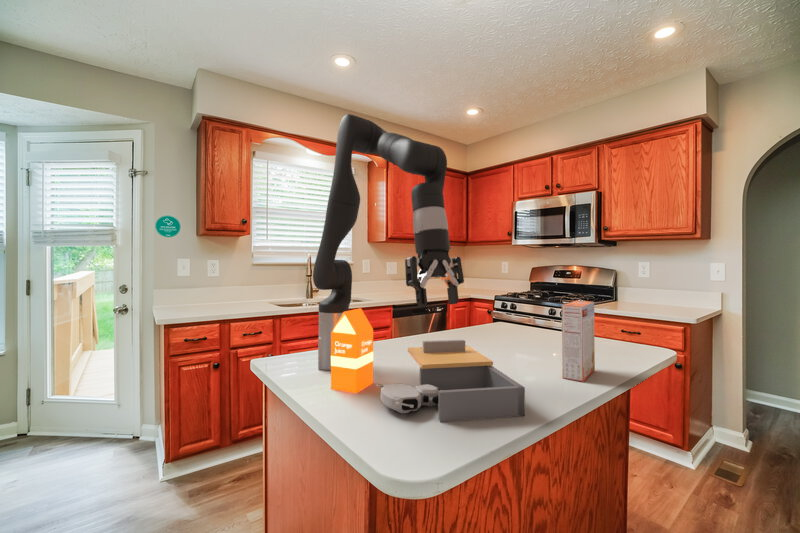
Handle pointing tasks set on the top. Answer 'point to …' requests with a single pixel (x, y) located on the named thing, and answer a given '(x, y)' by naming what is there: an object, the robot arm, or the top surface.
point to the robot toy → (408, 396)
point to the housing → (474, 393)
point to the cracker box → (578, 340)
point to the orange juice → (352, 352)
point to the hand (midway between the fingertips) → (438, 305)
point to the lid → (447, 355)
